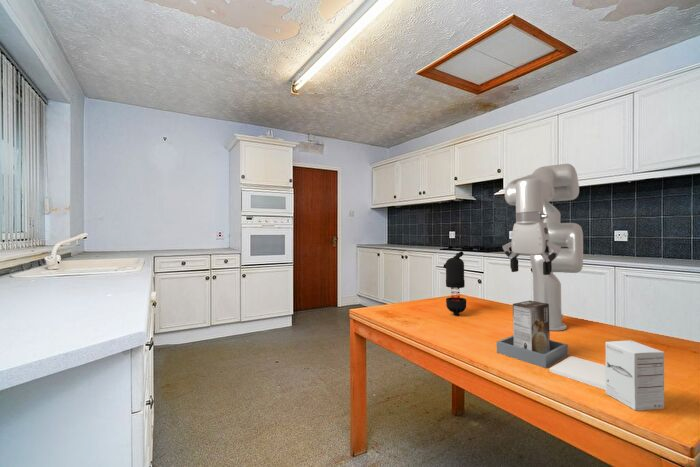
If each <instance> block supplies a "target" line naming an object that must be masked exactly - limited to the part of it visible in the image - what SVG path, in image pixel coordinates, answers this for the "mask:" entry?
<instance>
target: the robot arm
mask: <svg viewBox="0 0 700 467" xmlns="http://www.w3.org/2000/svg"><path fill="white" fill-rule="evenodd" d="M579 194H580V184H579V178H578V173H577V171H576V168H575V167H574V165H572V164H570V163H561V164H554V165H546V166H545V165H544V166H540V167H538V168H537V169H535V170H534V171H533V172H532V173H531V174H528V175H525V176H522V177H518V178H516V179H513V180H512V181H510V182H509V183H508V184H507V186H506V187H505V190H504V200H505V202H506V204H508V205H509V206H515V223H514V224H513V228H512V232H511V241H509V242H508V243H506V244H504V245H502V249H503V252H504V254H505V256H506V257H508V260H510V263H509V264H510V269H511V272H512V273H514V272H515V273H517V272H519V258H518V257H519V256H520V255H528V256H529V260H530V266H531V271H532V290H533V295H532V296H533V300H532V301H536V302H541V303H547V304H549V331H552V332H554V331H557V332H558V331H565V330H566V329H567V325H566V324H565V323H563V322H562V321H563V320H562V319H564V314H563V313H562V284H561V281H560V280H559V279H558V276H556V275H555V274H554V273H563V274H564V273H565V274H566V273H567V274H576V273H579V272H581V271H582V270H583V266H584V232H583V229H582V228H583V227H582V226H581V225H579V224H578V223H575V222H561V214H562V213H561V212H560V211H559V209H557V207H556V206H554V205H553V204H551V203H550V202H563V201H564V202H565V201H573V200H575V199H577V198H578V197H579ZM510 248H511V250H510ZM517 258H518V259H517Z"/></svg>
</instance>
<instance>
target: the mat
mask: <svg viewBox="0 0 700 467" xmlns="http://www.w3.org/2000/svg"><path fill="white" fill-rule="evenodd" d="M549 373H552V374H555V375H558V376H561V377H564V378H568V379H570V380H573V381H576V382H580V383H582V384H586V385H589V386H592V387H595V388H598V389H601V390H605V391H606V364H602V363H598V362H594V361H591V360H588V359H587V360H586V359H584V358H579V357H576V356H572V355H571V356H567V358H564V359H563V360H560V362H558V363H555V364H553V365H552V366H550V368H549Z"/></svg>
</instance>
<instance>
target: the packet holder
mask: <svg viewBox="0 0 700 467" xmlns="http://www.w3.org/2000/svg"><path fill="white" fill-rule="evenodd" d="M568 346H569V345H568V344H567V343H564V342H559V341H556V340H551V339H550V351H549V352H547V353H545V354H541V353H538V352H534V351H531V350H527V349H524V348H520V347H517V346H514V334H513V335H510V336H508V337H505V338H503V339H500V340H498V341H496V353H497V354H500V355H504V356H507V357H511V358H513V359H517V360H519V361H522V362H526V363H528V364H532V365H535V366H538V367H541V368H545V369H547V368H549V367H552V366H553V365H555V364H557V362H558V363H559V361H562V359H563V360H564V359H566V357H567V358H568V357H569V347H568Z"/></svg>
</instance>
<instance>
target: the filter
mask: <svg viewBox="0 0 700 467" xmlns="http://www.w3.org/2000/svg"><path fill="white" fill-rule="evenodd" d="M463 255H464V252H463V251H461V250H460V251H459V252H457V253H455V255H454V256H453V257H450V258H448V259H447V260H446V262H445V263H444V264H443V268H444V269H445V287H446V288H450V289H451V290H455V289H457V290H460V289H462V288H465V287H466V286H465V262H464V261H463V259H461V258H462V257H463ZM451 294H454V291H451ZM455 294H456V296H454V295H451V297H447V298H445V304H446V305H445V306H446V309H447V310H448V311H450V312H452V313H453V316H455V317H459V316H460V313H462V312H464V311H465V310H466V309H467V299H466V298H464V297H460V295H458V294H460V291H457V292H455Z"/></svg>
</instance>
